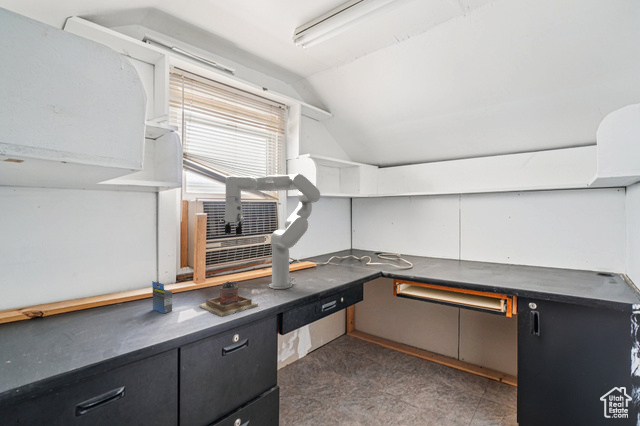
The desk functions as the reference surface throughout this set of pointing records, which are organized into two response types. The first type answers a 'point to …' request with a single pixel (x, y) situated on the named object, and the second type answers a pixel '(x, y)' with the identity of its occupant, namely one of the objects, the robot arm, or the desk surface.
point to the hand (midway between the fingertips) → (233, 233)
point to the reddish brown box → (228, 293)
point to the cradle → (228, 306)
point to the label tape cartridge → (161, 298)
